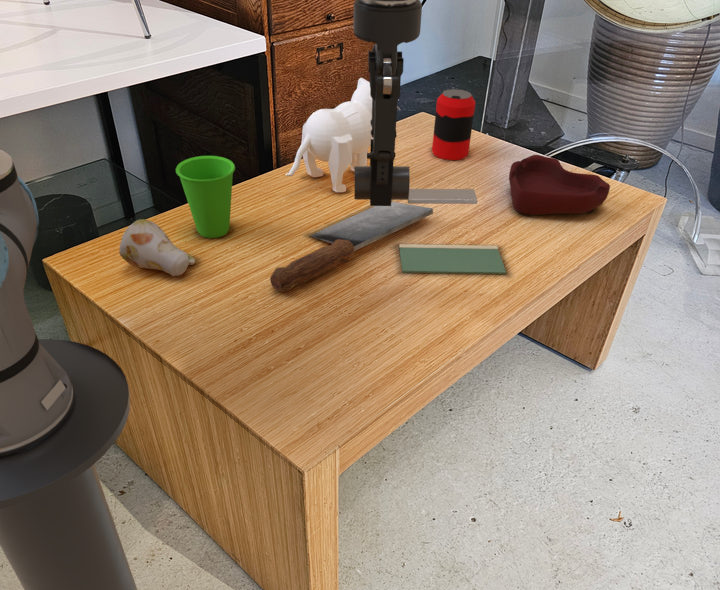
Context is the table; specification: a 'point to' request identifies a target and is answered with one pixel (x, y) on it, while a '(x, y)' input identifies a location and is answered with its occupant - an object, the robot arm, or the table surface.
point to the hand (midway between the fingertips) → (380, 195)
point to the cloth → (451, 259)
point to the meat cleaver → (347, 241)
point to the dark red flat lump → (553, 188)
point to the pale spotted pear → (153, 249)
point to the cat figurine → (338, 137)
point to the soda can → (453, 124)
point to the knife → (412, 195)
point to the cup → (208, 192)
